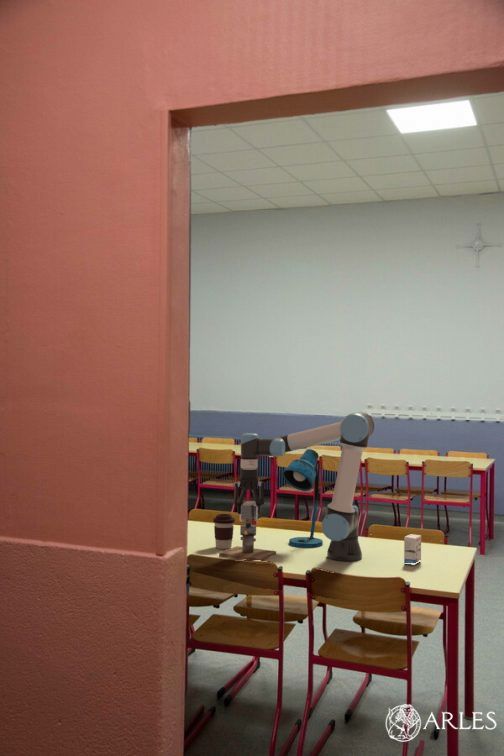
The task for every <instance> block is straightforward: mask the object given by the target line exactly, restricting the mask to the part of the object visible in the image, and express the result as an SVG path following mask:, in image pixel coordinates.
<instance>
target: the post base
mask: <svg viewBox="0 0 504 756" xmlns="http://www.w3.org/2000/svg"><path fill="white" fill-rule="evenodd" d="M240 540H241V541H242V542H241V543H242V546H238V545H236V546H233V547H231V548H229V549H225V550H224V551H221V552H219V553H218V555H219V556H218V557H222V558H228V559H236V560H241V559H246V560H245V561H248V560H263V561H266V560H267V559H270V558H272V557H274V556H277V550H270V549H261V548H255V547H254V545H255V544H254V543H255V542H256V541H257V538H256V537H255V536H241V537H240Z"/></svg>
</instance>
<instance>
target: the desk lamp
mask: <svg viewBox="0 0 504 756" xmlns="http://www.w3.org/2000/svg"><path fill="white" fill-rule="evenodd" d="M318 460H319V453H318V452H317V451H316V450H314V449H312V448H307V449H306V450H305V451H304V452H303V454H302V455H301V456H300V457H299V458H298V459H292V461H291V462H290V463H289V465H288V466H287V467H285V468H284V470H283V471H282V473H281V475H282V478H283V479H284V481H285V482H286V483H287V484H288V485H289V486H291V487H292V488H294V489H296V490H298V491H301V492H302V491H303V492H309V491H311V490H312V489H313V486H314V496H313V498H314V499H313V510H312V519H311V527H310V534H309V535H310V536H298V537H297V536H296V537H295V536H294V537H292V538H290V539H289V541H288V544H289V546H291V545H292V546H291V547H296V548H303V549H304V548H305V549H313V548H320V547H322V546H323V545H324V541H323V539H320V538H318V537H315V535H314V534H315V529H316V519H317V512H318V511H317V510H318V501H319V500H318V499H319V498H318V497H319V471H318V468H317V466H316V464H317V462H318Z"/></svg>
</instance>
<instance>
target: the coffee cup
mask: <svg viewBox="0 0 504 756" xmlns="http://www.w3.org/2000/svg"><path fill="white" fill-rule="evenodd" d="M212 520H213V523H214V527H213V528H214V539H215V548H217V549H220V550H228V549H231V548H233V547H232V546H233V545H232V544H233V543H232V542H233V539H234V538H233V537H234V523H235V522H236V519H235V517H233V516H232V514H228V513H219V514H217V515H216V516H215V517H213V519H212Z"/></svg>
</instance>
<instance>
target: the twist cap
mask: <svg viewBox="0 0 504 756" xmlns="http://www.w3.org/2000/svg"><path fill="white" fill-rule="evenodd" d="M254 505H256V502H255V500H247V501H245V502H243V503H242V505H241V519H243V520H245V524H240V527H239V529H240V531H239V534H240V536H241V537H243V536H254V537H255V536H256V535H257V525H255V524H252V519H254Z"/></svg>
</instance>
